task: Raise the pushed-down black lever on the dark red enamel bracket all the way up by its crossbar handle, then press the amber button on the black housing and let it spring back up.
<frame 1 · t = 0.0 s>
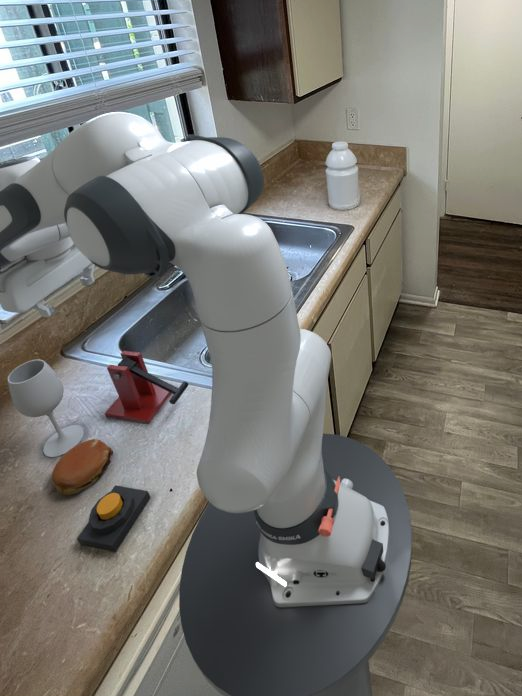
hand: (69, 298, 87), 32 cm above the worktop, tool pointing down, fingers open, 8 cm apart
button: (109, 506, 78), point 5 cm above the worktop, slide at 0.2 cm
burger: (86, 472, 88), on the worktop
bracket: (141, 403, 103), on the worktop
bottle: (344, 203, 193), on the worktop
button box: (117, 520, 80), on the worktop
lever: (151, 378, 98), point 9 cm above the worktop, hinge at -30.0°
wineglass: (64, 441, 94), on the worktop
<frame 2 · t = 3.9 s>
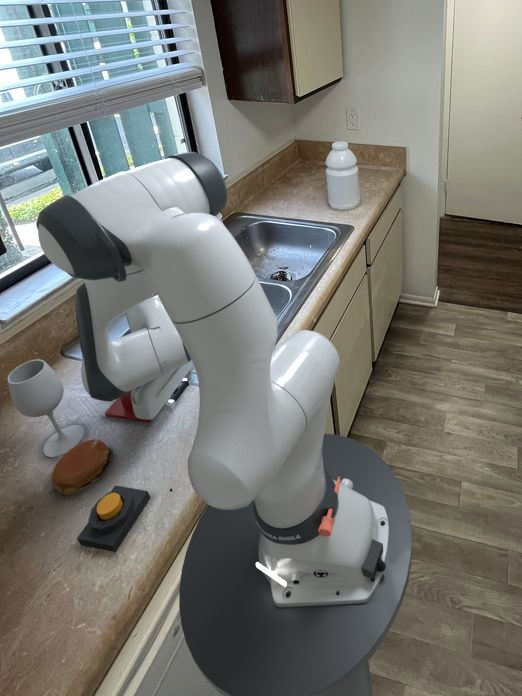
hand: (180, 395, 99), 5 cm above the worktop, tool pointing down, fingers closed on lever, 5 cm apart
lever: (151, 378, 98), point 9 cm above the worktop, hinge at -30.0°, touching gripper
everything else where it was.
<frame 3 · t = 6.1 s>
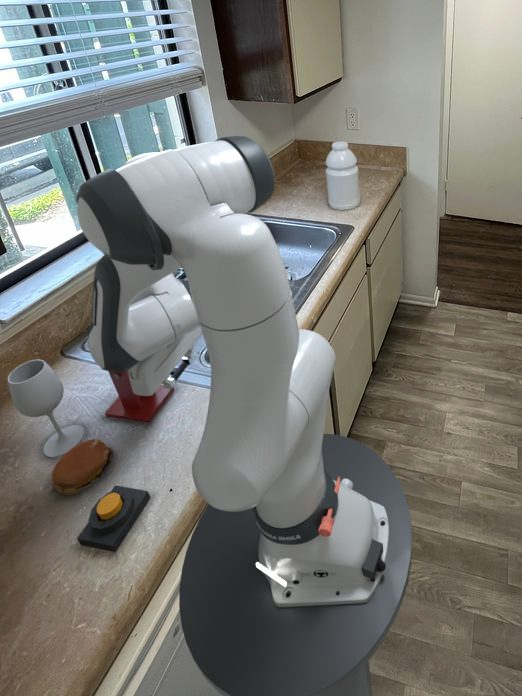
hand: (180, 374, 96), 12 cm above the worktop, tool pointing down, fingers closed on lever, 5 cm apart
lever: (151, 368, 96), point 12 cm above the worktop, hinge at 1.5°, touching gripper
everything else where it was.
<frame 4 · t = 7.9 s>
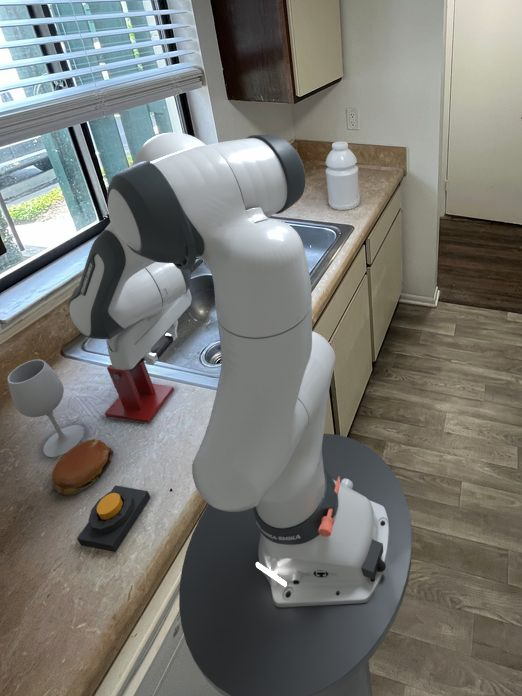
hand: (163, 350, 93), 18 cm above the worktop, tool pointing down, fingers closed on lever, 5 cm apart
lever: (143, 358, 95), point 15 cm above the worktop, hinge at 32.1°, touching gripper
everything else where it was.
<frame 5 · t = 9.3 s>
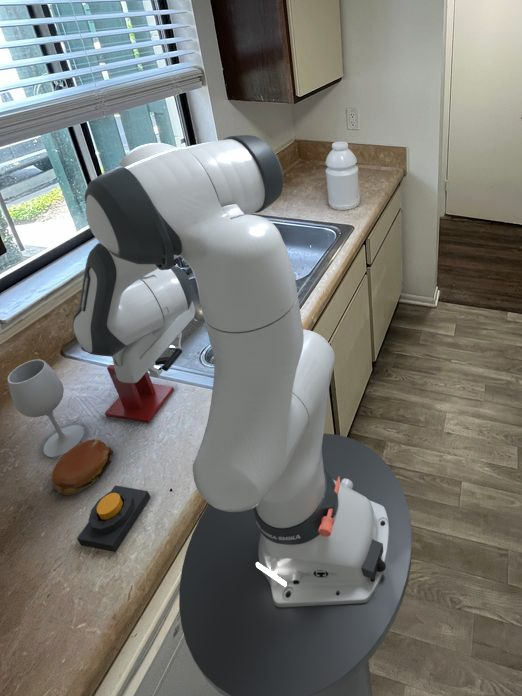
hand: (167, 362, 95), 15 cm above the worktop, tool pointing down, fingers closed on lever, 5 cm apart
lever: (147, 363, 96), point 14 cm above the worktop, hinge at 17.9°, touching gripper
everything else where it was.
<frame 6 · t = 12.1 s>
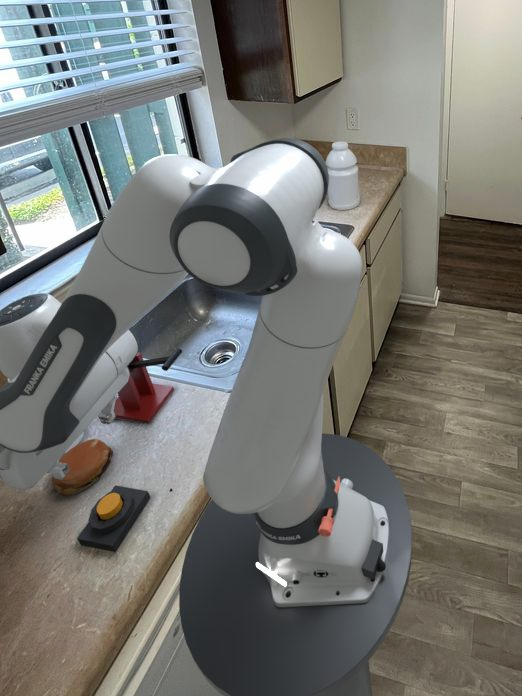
hand: (87, 445, 73), 20 cm above the worktop, tool pointing down, fingers open, 8 cm apart
lever: (147, 362, 96), point 14 cm above the worktop, hinge at 18.1°
everything else where it was.
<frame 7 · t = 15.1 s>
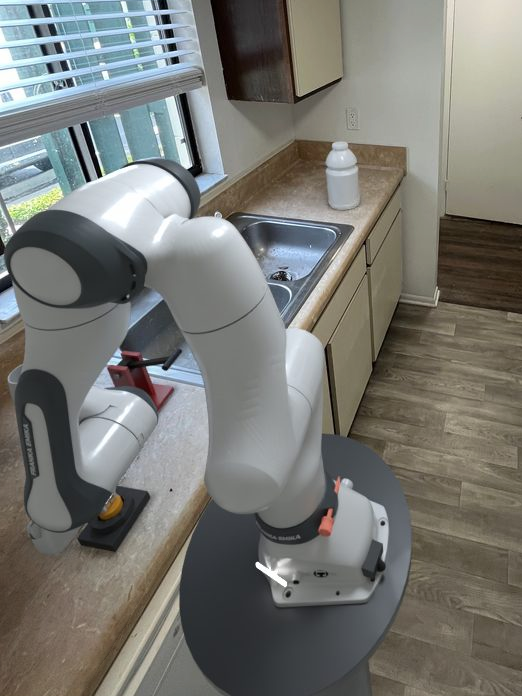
hand: (107, 504, 78), 5 cm above the worktop, tool pointing down, fingers closed, pressing on button
button: (110, 507, 78), point 4 cm above the worktop, slide at -0.3 cm, touching gripper
everything else where it was.
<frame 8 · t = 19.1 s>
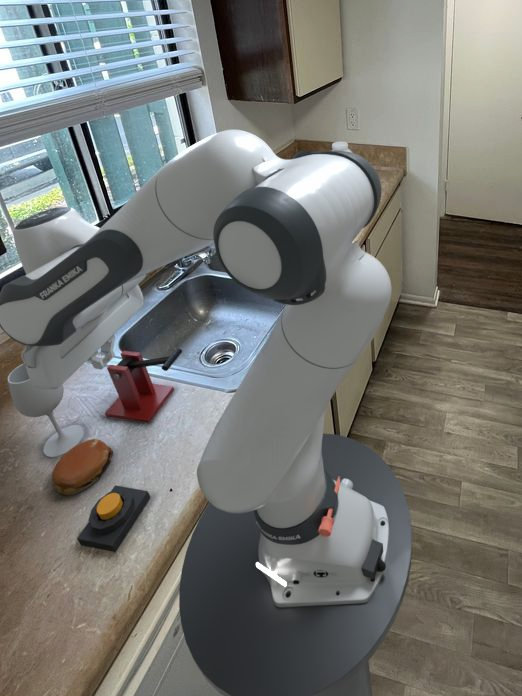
hand: (105, 362, 77), 29 cm above the worktop, tool pointing down, fingers closed
button: (109, 506, 78), point 5 cm above the worktop, slide at 0.1 cm
everything else where it was.
at the end: lever at +18° (first picture: -30°); button pushed in 1.0 cm at the most during the clip, back to where it started at the end; button slide at 0.1 cm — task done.
